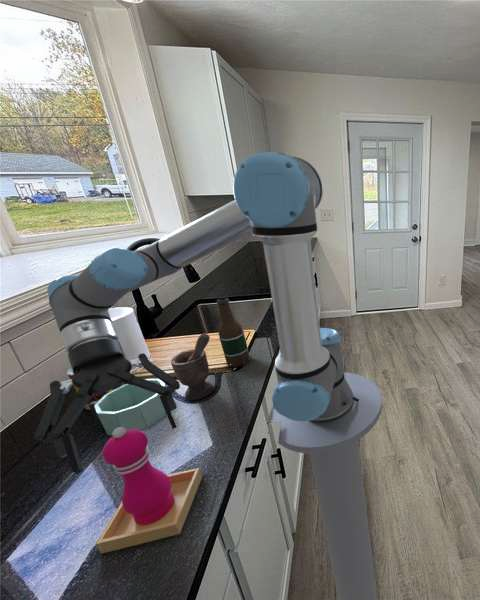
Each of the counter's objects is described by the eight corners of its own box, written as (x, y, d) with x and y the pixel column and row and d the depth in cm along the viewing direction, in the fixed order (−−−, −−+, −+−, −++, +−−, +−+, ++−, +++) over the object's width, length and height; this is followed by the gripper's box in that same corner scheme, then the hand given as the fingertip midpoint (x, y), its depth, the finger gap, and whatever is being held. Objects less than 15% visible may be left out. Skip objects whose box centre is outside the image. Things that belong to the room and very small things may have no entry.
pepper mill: (135, 537, 56) (90, 452, 49) (129, 510, 61) (87, 430, 53) (181, 507, 61) (147, 426, 53) (172, 485, 65) (139, 408, 58)
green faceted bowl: (180, 393, 96) (173, 374, 93) (156, 429, 82) (147, 407, 79) (115, 404, 92) (106, 384, 90) (80, 443, 78) (68, 421, 76)
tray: (202, 476, 68) (199, 467, 67) (179, 534, 57) (175, 524, 56) (138, 490, 65) (133, 481, 64) (101, 553, 54) (95, 544, 53)
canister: (154, 351, 122) (136, 303, 114) (148, 370, 109) (128, 318, 102) (100, 364, 114) (78, 314, 107) (88, 386, 101) (61, 331, 94)
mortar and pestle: (229, 379, 101) (213, 324, 94) (224, 395, 94) (206, 336, 86) (188, 388, 98) (168, 331, 91) (180, 405, 90) (157, 345, 83)
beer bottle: (254, 360, 112) (239, 298, 103) (231, 370, 106) (213, 305, 98) (245, 353, 117) (230, 293, 108) (223, 362, 111) (205, 299, 103)
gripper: (-16, 367, 51) (17, 493, 46) (168, 318, 66) (206, 407, 62) (6, 381, 56) (37, 495, 51) (171, 333, 72) (206, 416, 67)
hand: (130, 447), depth 56 cm, fingers open, 13 cm apart
